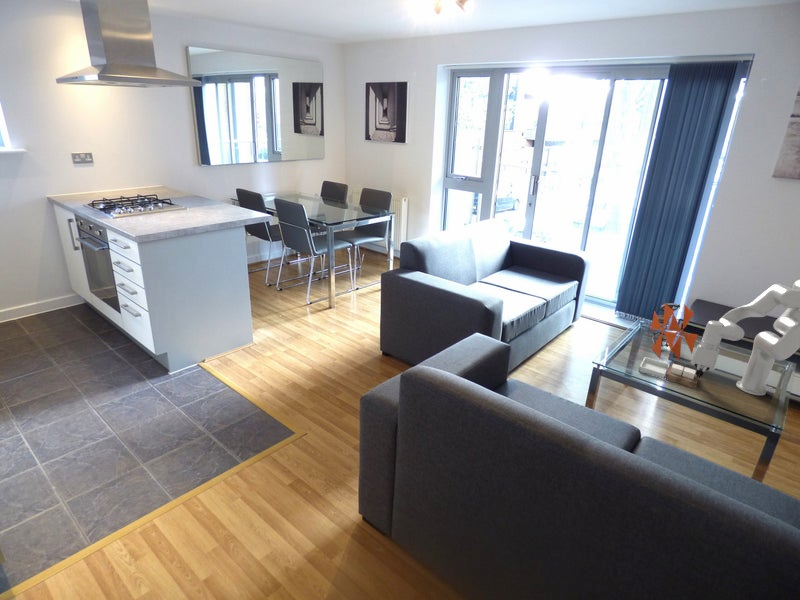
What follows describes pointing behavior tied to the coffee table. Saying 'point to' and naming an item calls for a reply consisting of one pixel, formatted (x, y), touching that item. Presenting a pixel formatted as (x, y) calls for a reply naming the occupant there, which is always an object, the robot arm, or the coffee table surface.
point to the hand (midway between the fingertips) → (698, 376)
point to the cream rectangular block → (689, 372)
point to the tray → (653, 367)
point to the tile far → (677, 369)
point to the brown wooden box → (681, 378)
